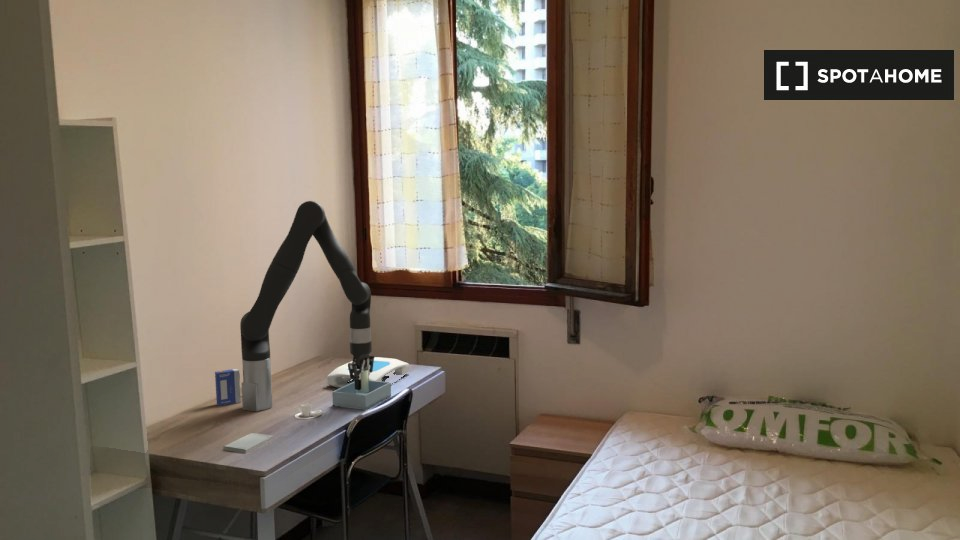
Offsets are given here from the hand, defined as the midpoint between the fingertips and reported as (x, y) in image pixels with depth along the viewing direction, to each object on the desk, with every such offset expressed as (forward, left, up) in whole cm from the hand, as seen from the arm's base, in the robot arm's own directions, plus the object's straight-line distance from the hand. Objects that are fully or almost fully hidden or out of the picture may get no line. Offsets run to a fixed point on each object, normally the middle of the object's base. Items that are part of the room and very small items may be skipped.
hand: (362, 387), depth 258 cm
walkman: (-19, +43, -5) cm, 47 cm away
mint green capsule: (0, 0, -1) cm, 1 cm away
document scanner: (+24, +12, -5) cm, 27 cm away
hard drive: (-49, +9, -6) cm, 50 cm away
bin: (0, 0, -5) cm, 5 cm away
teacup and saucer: (-23, +6, -5) cm, 24 cm away
